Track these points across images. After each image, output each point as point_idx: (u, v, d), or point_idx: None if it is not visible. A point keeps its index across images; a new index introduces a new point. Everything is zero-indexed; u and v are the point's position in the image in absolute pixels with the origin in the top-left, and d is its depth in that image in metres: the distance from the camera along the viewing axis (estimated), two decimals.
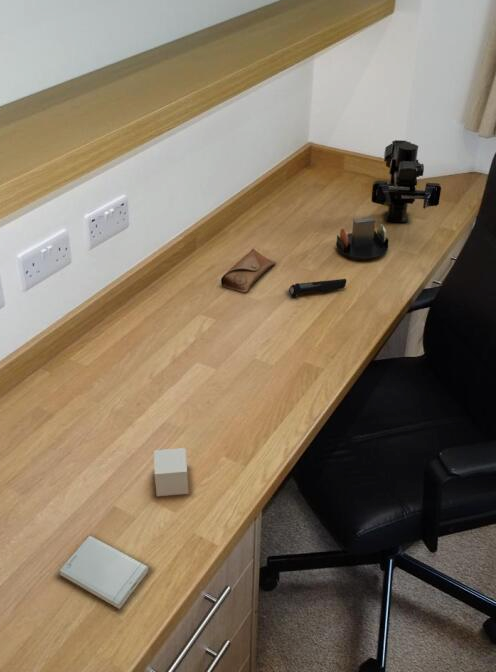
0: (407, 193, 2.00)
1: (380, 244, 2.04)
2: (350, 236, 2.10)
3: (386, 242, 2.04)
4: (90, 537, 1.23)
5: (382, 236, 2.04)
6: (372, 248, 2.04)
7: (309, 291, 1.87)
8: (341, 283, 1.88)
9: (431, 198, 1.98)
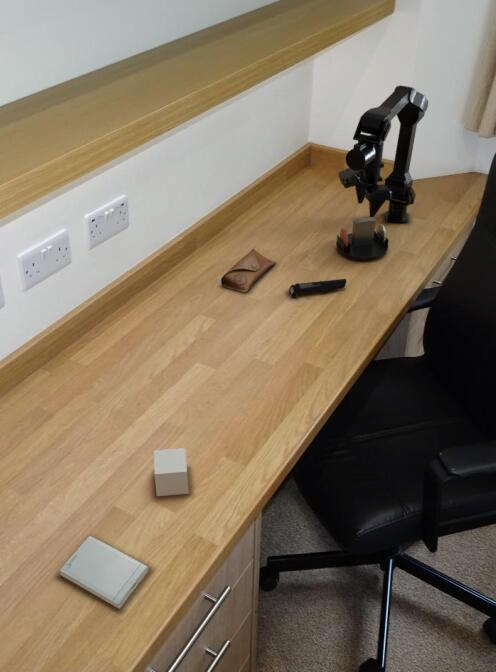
0: None
1: (380, 244, 2.04)
2: (350, 236, 2.10)
3: (386, 242, 2.04)
4: (90, 537, 1.23)
5: (382, 236, 2.04)
6: (372, 248, 2.04)
7: (309, 291, 1.87)
8: (341, 283, 1.88)
9: None
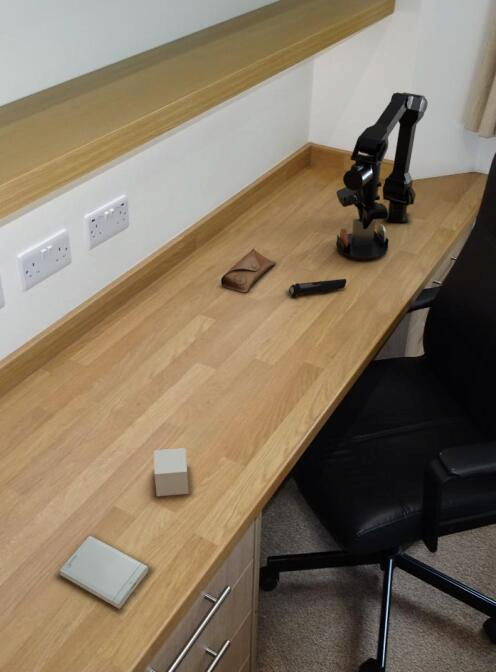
0: None
1: (380, 244, 2.04)
2: (350, 236, 2.10)
3: (386, 242, 2.04)
4: (90, 537, 1.23)
5: (382, 236, 2.04)
6: (372, 248, 2.04)
7: (309, 291, 1.87)
8: (341, 283, 1.88)
9: None
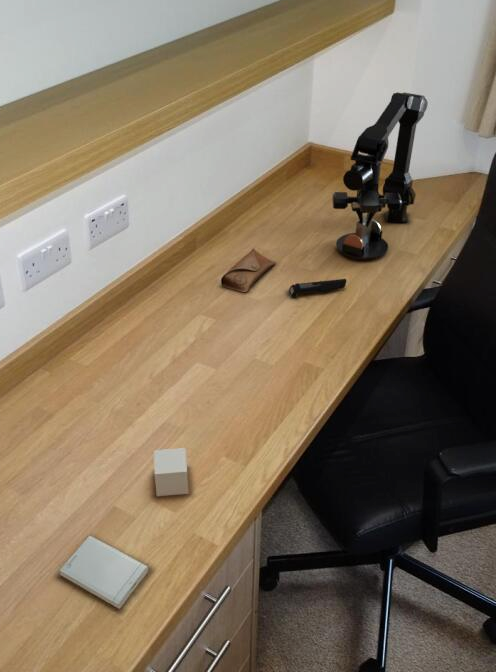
0: None
1: (376, 238, 2.07)
2: (342, 241, 2.08)
3: (379, 234, 2.08)
4: (90, 537, 1.23)
5: (375, 230, 2.07)
6: (373, 244, 2.06)
7: (309, 291, 1.87)
8: (341, 283, 1.88)
9: None
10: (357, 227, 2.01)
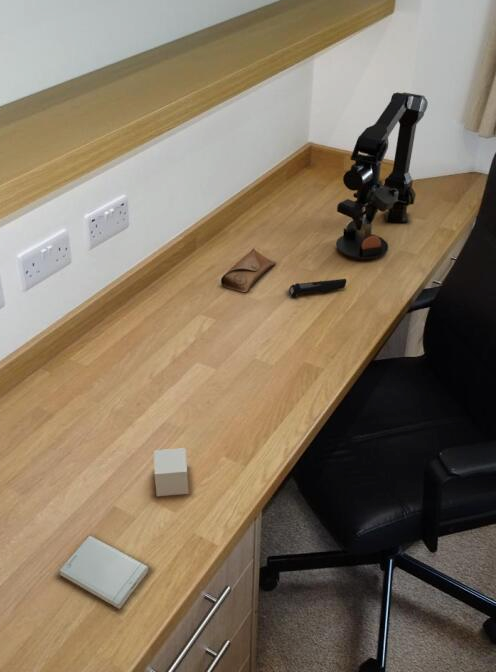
0: None
1: None
2: (346, 249, 2.04)
3: None
4: (90, 537, 1.23)
5: None
6: None
7: (309, 291, 1.87)
8: (341, 283, 1.88)
9: None
10: (366, 228, 2.00)
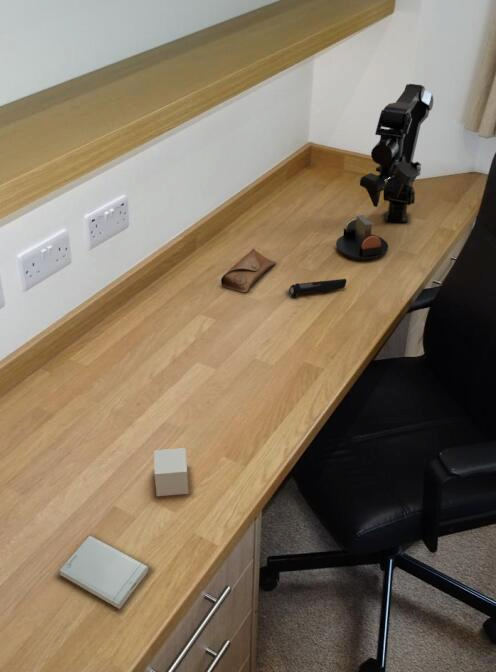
0: None
1: None
2: (346, 249, 2.04)
3: None
4: (90, 537, 1.23)
5: None
6: None
7: (309, 291, 1.87)
8: (341, 283, 1.88)
9: None
10: (366, 228, 2.00)
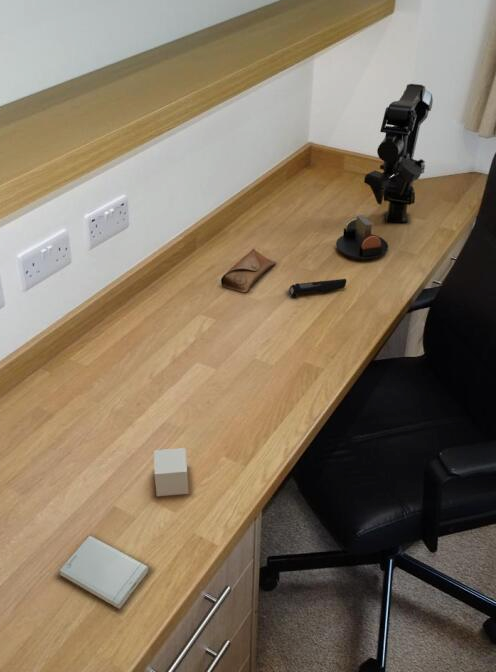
0: None
1: None
2: (346, 249, 2.04)
3: None
4: (90, 537, 1.23)
5: None
6: None
7: (309, 291, 1.87)
8: (341, 283, 1.88)
9: None
10: (366, 228, 2.00)
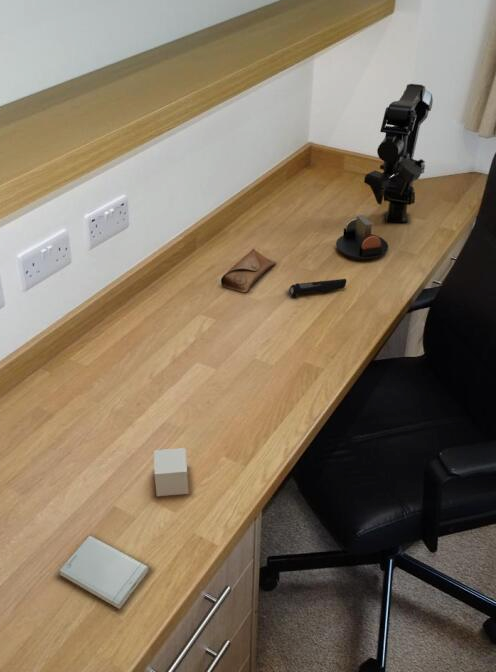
0: None
1: None
2: (346, 249, 2.04)
3: None
4: (90, 537, 1.23)
5: None
6: None
7: (309, 291, 1.87)
8: (341, 283, 1.88)
9: None
10: (366, 228, 2.00)
